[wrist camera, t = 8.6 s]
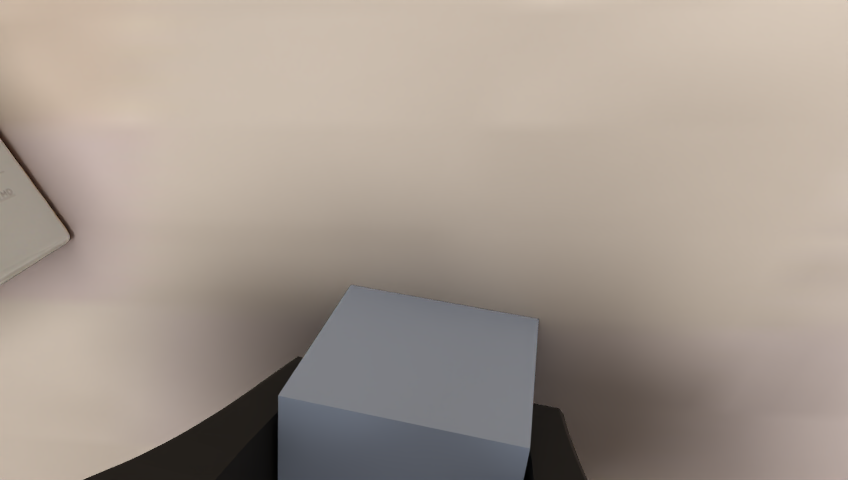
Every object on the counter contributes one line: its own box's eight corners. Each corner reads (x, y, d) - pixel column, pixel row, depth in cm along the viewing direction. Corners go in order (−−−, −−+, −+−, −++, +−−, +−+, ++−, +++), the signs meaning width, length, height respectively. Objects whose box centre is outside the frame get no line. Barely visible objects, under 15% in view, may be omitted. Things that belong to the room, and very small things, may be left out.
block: (509, 465, 15) (492, 625, 11) (343, 429, 16) (277, 571, 12) (539, 316, 13) (529, 448, 10) (352, 282, 14) (277, 395, 10)
